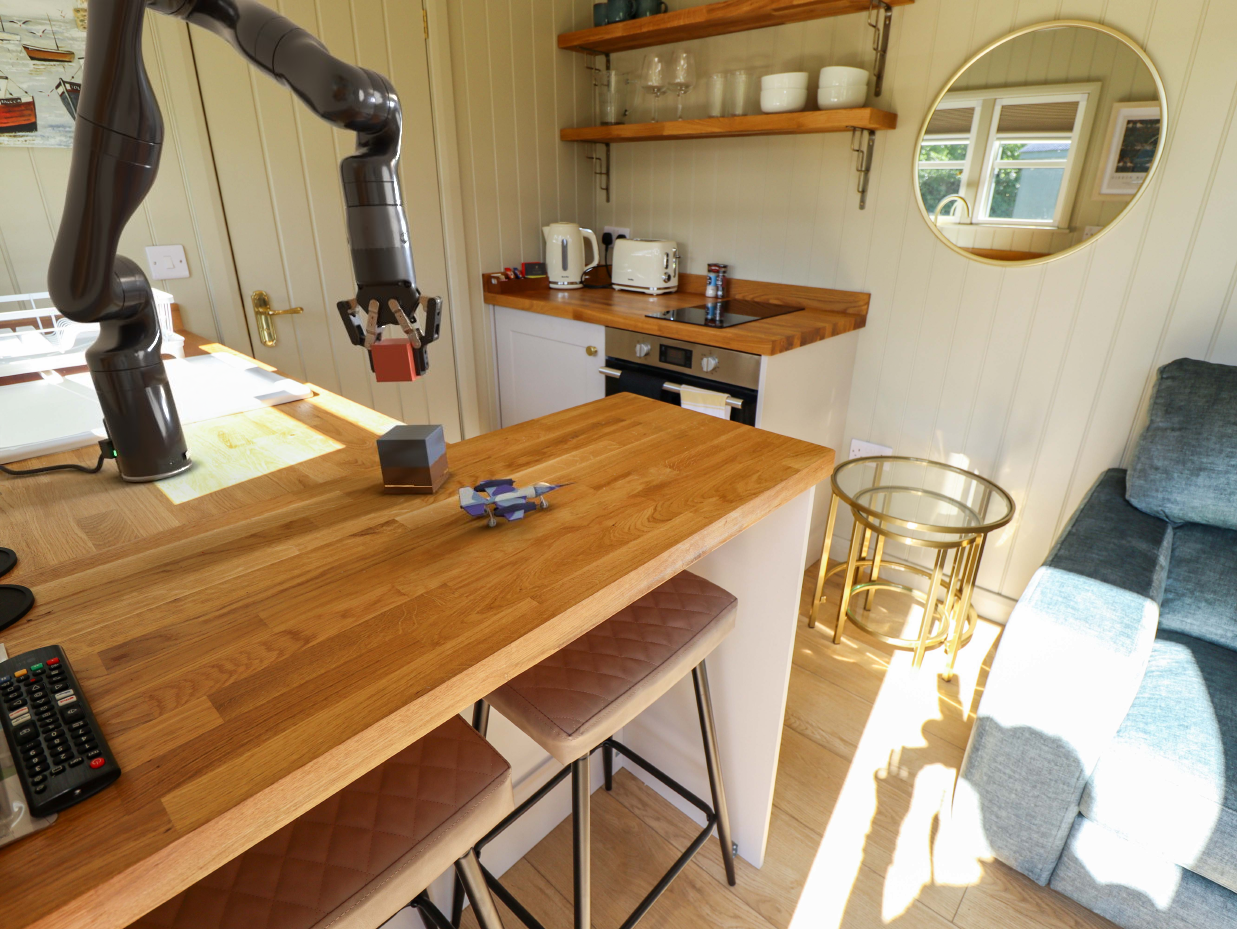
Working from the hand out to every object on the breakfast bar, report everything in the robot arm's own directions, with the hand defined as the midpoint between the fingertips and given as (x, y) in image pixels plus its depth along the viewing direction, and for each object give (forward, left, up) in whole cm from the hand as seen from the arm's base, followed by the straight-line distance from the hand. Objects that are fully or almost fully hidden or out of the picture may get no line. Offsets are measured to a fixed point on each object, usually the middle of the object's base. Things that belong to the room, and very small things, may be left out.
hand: (401, 374), depth 90 cm
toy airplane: (+19, -6, -16) cm, 26 cm away
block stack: (0, 0, -16) cm, 16 cm away
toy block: (0, 0, 0) cm, 0 cm away
